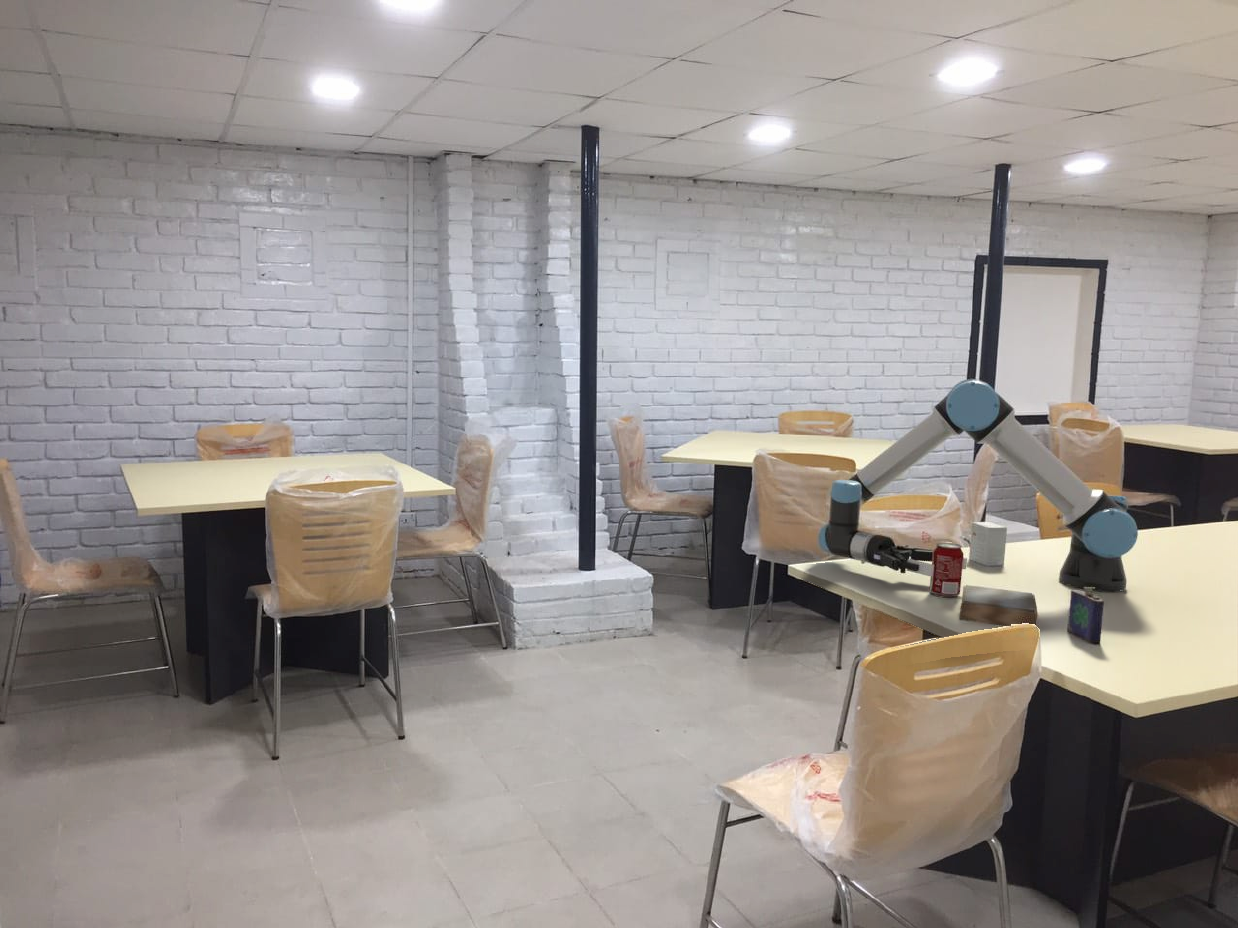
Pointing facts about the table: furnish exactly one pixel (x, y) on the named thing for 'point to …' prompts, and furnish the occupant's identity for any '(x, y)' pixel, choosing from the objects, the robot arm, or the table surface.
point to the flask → (1086, 615)
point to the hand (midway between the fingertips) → (949, 567)
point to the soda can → (947, 569)
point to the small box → (987, 543)
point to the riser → (998, 606)
